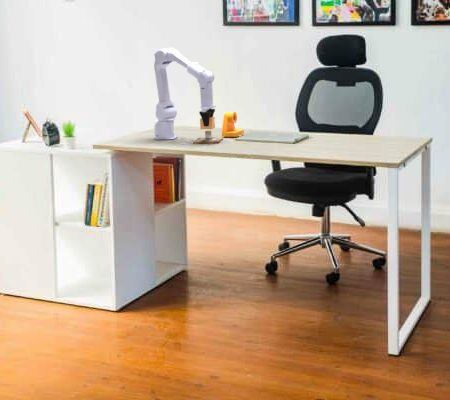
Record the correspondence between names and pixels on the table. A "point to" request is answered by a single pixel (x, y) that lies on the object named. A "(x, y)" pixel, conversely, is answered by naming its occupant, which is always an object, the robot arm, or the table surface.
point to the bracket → (230, 125)
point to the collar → (211, 123)
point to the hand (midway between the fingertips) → (207, 125)
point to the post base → (212, 141)
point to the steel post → (208, 135)
